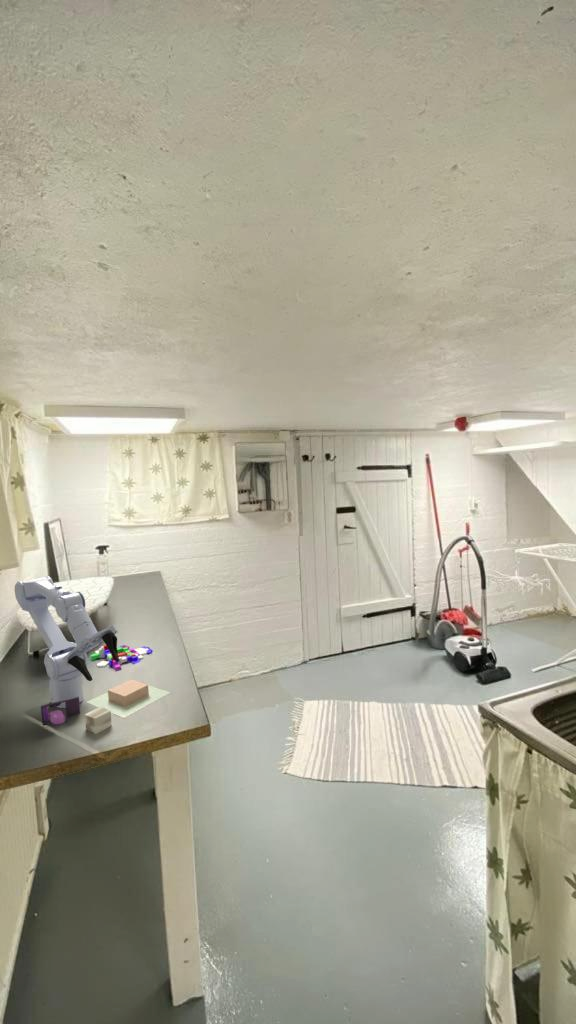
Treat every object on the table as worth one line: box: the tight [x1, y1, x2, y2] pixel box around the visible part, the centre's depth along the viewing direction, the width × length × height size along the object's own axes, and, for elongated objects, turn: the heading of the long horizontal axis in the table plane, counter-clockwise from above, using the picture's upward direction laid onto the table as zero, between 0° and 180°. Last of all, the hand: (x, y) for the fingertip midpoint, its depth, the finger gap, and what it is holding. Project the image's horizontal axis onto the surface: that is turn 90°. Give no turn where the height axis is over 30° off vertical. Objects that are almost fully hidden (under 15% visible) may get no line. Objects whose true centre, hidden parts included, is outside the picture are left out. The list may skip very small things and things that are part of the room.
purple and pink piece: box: [40, 697, 81, 726], centre depth 111 cm, size 7×5×9 cm
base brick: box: [107, 679, 149, 707], centre depth 123 cm, size 8×8×3 cm
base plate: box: [86, 684, 171, 719], centre depth 123 cm, size 18×16×1 cm
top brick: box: [84, 707, 112, 735], centre depth 108 cm, size 4×4×5 cm
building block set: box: [90, 644, 154, 672], centre depth 159 cm, size 25×20×4 cm
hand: (103, 670), depth 108 cm, fingers open, 7 cm apart
